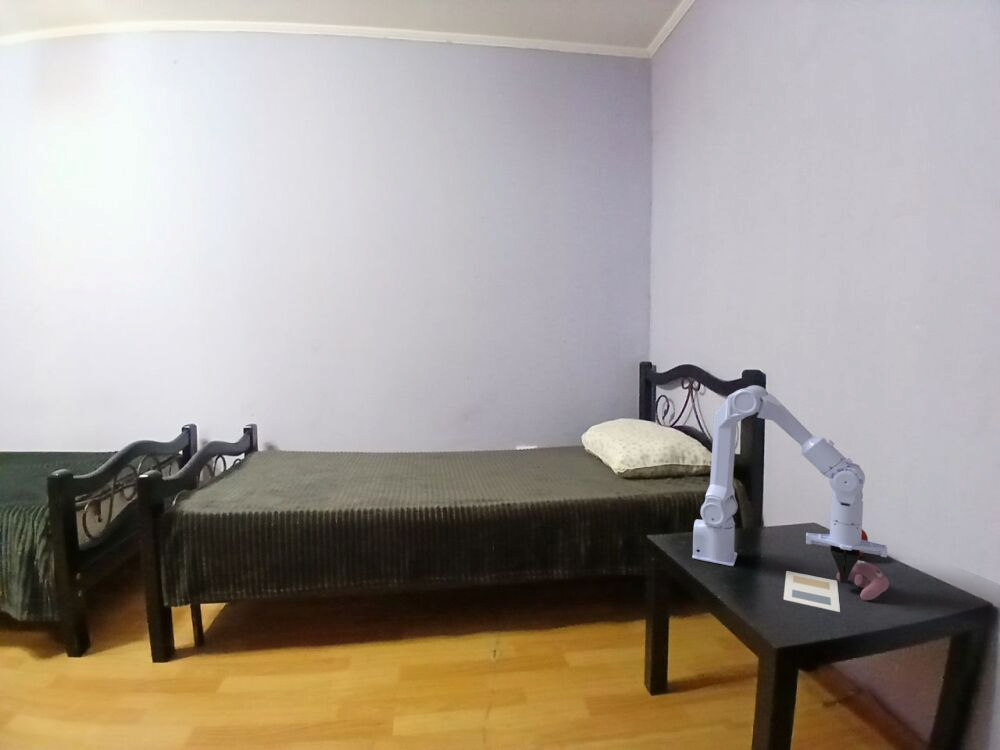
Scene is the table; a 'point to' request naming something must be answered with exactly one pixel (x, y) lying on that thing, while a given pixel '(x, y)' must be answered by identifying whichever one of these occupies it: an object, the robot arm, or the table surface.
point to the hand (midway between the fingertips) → (843, 581)
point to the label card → (811, 591)
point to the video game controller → (873, 574)
